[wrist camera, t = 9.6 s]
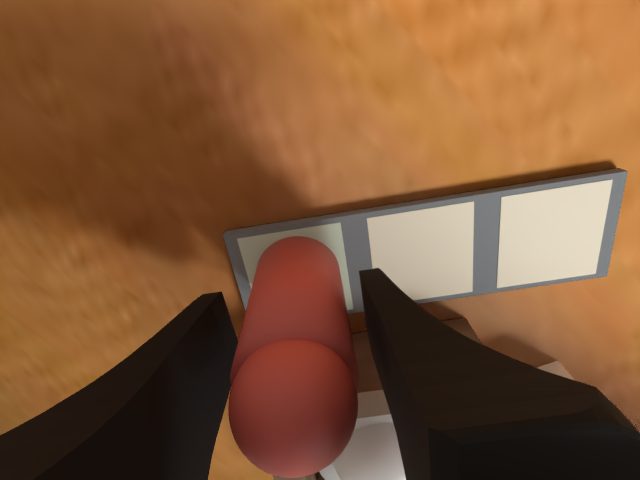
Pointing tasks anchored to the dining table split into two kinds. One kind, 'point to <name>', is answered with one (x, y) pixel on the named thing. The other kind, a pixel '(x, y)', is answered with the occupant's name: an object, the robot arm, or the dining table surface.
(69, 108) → the dining table surface
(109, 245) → the dining table surface
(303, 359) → the pawn
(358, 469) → the dome
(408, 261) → the track
